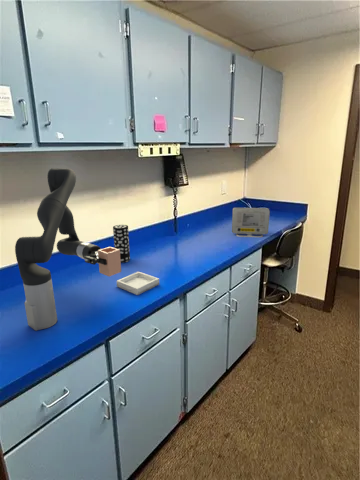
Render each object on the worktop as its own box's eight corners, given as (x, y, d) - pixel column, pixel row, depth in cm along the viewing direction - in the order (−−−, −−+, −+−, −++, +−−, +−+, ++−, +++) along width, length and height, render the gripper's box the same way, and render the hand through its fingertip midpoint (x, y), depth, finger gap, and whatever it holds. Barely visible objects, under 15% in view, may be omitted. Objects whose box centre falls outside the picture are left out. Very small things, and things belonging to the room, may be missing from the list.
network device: (266, 234, 226) (268, 207, 220) (268, 237, 217) (270, 210, 212) (231, 233, 229) (232, 207, 223) (231, 236, 221) (232, 209, 215)
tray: (137, 295, 135) (137, 288, 134) (116, 286, 143) (116, 280, 142) (159, 284, 145) (159, 278, 144) (138, 277, 154) (138, 271, 153)
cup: (109, 276, 125) (107, 253, 122) (99, 272, 129) (97, 250, 126) (121, 271, 130) (119, 249, 127) (111, 268, 134) (110, 246, 131)
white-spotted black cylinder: (112, 260, 177) (110, 226, 171) (124, 256, 183) (122, 224, 177) (120, 263, 171) (118, 229, 165) (133, 260, 177) (131, 226, 171)
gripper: (73, 247, 130) (97, 256, 120) (101, 240, 141) (125, 247, 131) (75, 264, 132) (99, 273, 122) (102, 255, 143) (126, 263, 133)
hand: (113, 260), depth 127 cm, fingers closed on cup, 6 cm apart
